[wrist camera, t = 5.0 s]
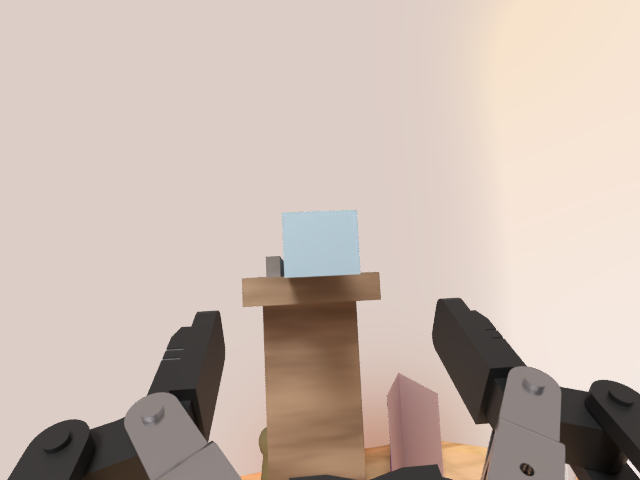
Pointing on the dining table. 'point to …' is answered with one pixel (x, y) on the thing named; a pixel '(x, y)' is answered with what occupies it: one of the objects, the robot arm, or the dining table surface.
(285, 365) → the dispenser stand
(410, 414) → the greeting card
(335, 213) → the light blue block
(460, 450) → the dining table surface
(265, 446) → the cork
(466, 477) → the dining table surface
